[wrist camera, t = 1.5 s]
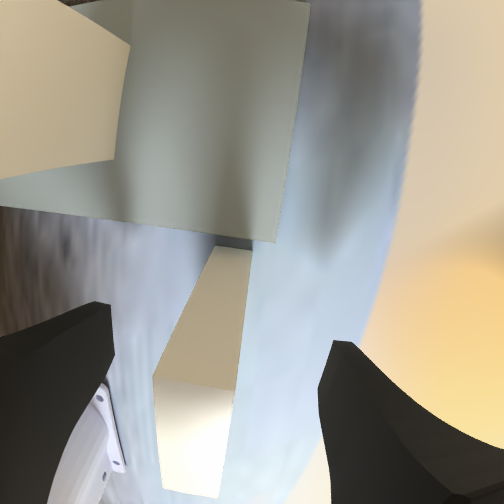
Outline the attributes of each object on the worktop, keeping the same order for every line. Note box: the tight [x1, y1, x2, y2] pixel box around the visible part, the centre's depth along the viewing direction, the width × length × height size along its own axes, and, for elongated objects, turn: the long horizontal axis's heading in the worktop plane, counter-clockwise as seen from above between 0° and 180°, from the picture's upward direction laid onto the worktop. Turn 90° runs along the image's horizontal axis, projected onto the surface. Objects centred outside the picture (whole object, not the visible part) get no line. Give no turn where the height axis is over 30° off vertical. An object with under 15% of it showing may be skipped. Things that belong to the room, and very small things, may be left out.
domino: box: [0, 0, 131, 179], centre depth 6 cm, size 4×2×8 cm, turn 172°
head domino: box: [153, 245, 252, 498], centre depth 10 cm, size 4×2×8 cm, turn 172°
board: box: [0, 0, 311, 243], centre depth 11 cm, size 9×22×1 cm, turn 82°
